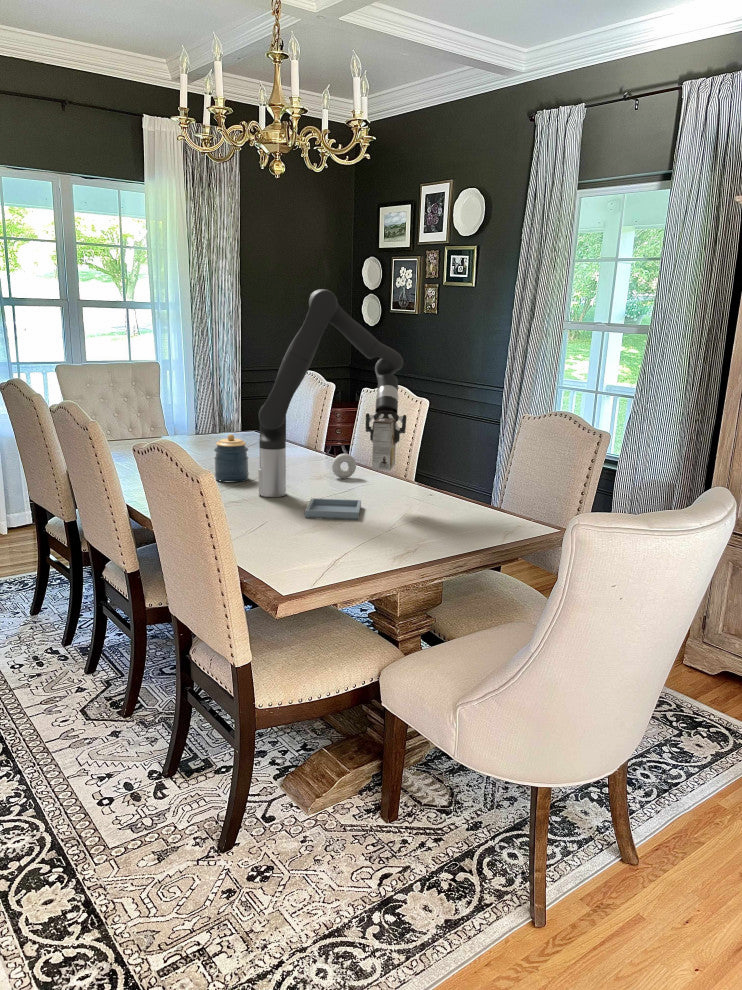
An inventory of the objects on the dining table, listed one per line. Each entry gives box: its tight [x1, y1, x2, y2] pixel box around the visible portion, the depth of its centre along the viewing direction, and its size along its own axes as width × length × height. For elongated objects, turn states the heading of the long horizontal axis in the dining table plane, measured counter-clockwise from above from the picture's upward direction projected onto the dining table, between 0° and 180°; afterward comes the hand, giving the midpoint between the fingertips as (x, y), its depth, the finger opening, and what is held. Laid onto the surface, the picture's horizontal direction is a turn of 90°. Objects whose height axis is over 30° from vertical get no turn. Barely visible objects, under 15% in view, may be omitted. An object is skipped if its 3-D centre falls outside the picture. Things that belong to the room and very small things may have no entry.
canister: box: [213, 433, 250, 482], centre depth 289 cm, size 13×13×18 cm
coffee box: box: [371, 418, 397, 471], centre depth 248 cm, size 9×6×16 cm
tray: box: [304, 497, 362, 521], centre depth 247 cm, size 17×16×2 cm
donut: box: [331, 453, 357, 479], centre depth 296 cm, size 10×3×10 cm, turn 109°
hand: (384, 441), depth 248 cm, fingers closed on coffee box, 7 cm apart
